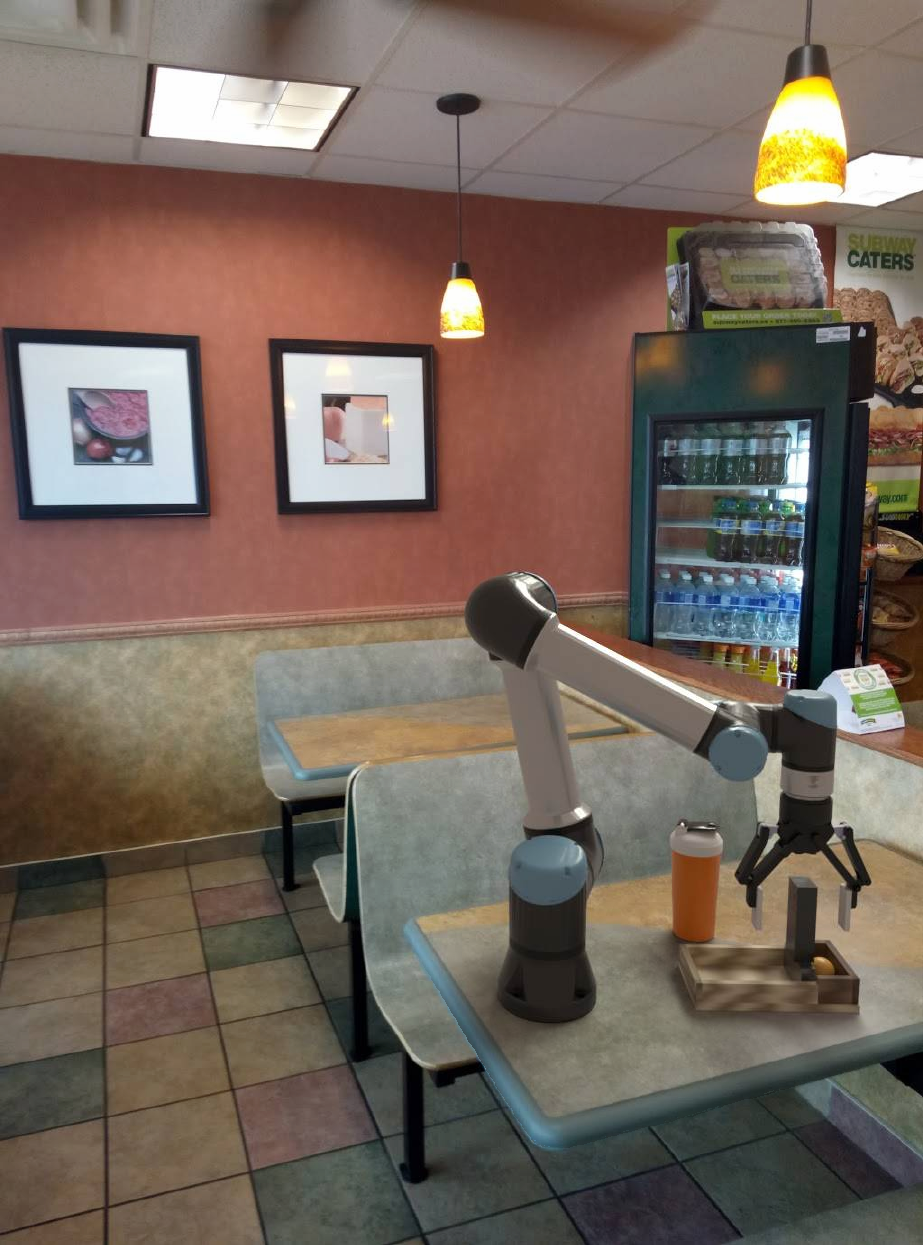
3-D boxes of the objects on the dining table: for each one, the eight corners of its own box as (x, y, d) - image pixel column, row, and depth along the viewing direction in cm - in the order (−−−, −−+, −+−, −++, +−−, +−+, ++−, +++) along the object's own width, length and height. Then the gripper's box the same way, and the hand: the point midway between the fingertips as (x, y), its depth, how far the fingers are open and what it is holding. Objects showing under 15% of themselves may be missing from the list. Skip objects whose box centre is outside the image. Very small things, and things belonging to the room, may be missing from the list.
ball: (813, 991, 138) (811, 966, 137) (804, 977, 141) (802, 953, 141) (839, 988, 137) (837, 963, 137) (830, 974, 141) (827, 950, 141)
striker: (797, 993, 136) (802, 893, 133) (780, 966, 143) (784, 871, 141) (817, 994, 135) (822, 893, 133) (799, 967, 143) (804, 871, 141)
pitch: (696, 1010, 134) (697, 978, 133) (678, 965, 147) (679, 936, 146) (859, 1012, 133) (861, 981, 132) (826, 967, 146) (828, 938, 145)
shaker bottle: (721, 947, 153) (725, 834, 150) (667, 942, 154) (671, 830, 152) (717, 923, 161) (721, 816, 159) (666, 919, 163) (669, 813, 160)
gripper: (730, 800, 132) (725, 937, 135) (900, 801, 131) (892, 939, 134) (717, 784, 140) (712, 914, 142) (878, 785, 139) (871, 916, 142)
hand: (799, 927), depth 138 cm, fingers open, 13 cm apart
